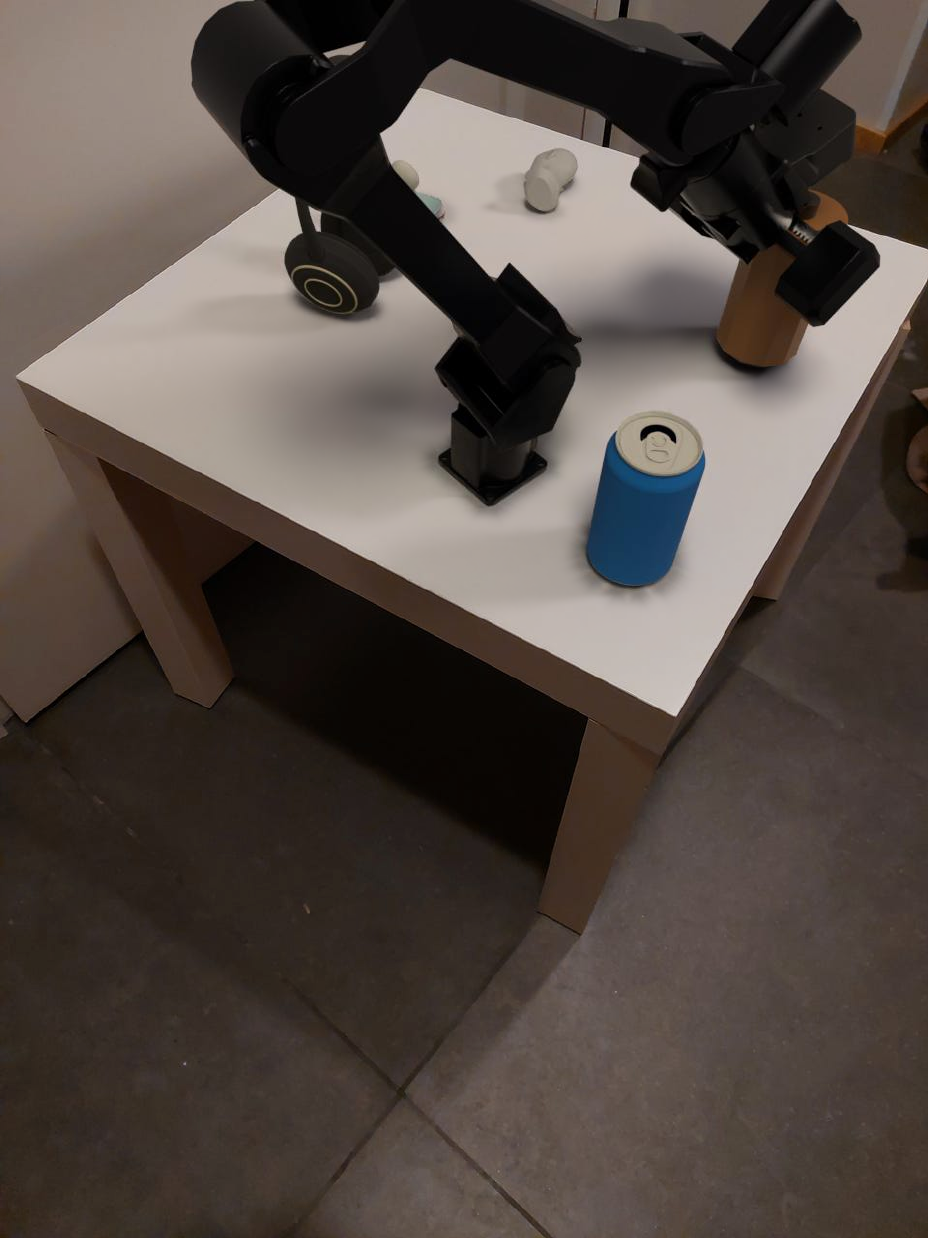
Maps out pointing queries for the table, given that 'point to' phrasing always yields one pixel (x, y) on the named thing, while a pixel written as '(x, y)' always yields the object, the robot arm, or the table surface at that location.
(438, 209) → the pacifier
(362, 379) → the table surface
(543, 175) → the pale two-lobed sculpture
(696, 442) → the beverage can
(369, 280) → the headphones
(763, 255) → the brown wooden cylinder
